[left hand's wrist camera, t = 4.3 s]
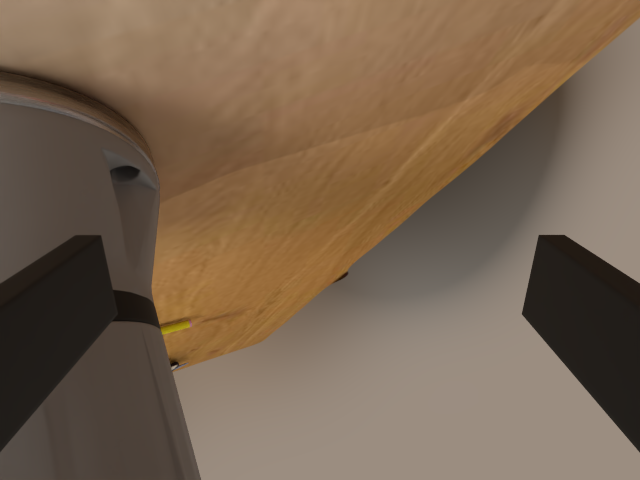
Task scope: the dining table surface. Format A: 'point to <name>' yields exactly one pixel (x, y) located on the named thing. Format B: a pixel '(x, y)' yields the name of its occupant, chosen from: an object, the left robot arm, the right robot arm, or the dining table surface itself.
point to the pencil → (176, 327)
